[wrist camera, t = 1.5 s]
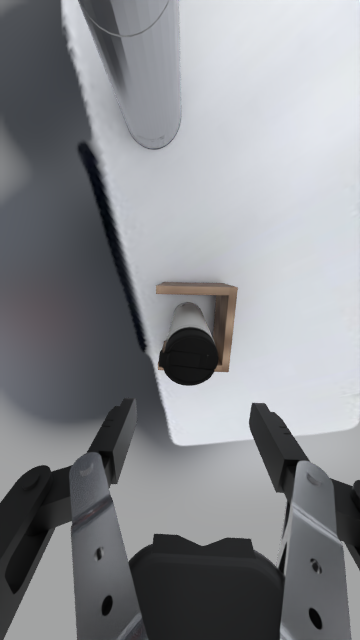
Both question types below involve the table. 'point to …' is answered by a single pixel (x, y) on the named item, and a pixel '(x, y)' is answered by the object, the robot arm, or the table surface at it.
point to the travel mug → (189, 347)
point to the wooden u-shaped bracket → (223, 313)
